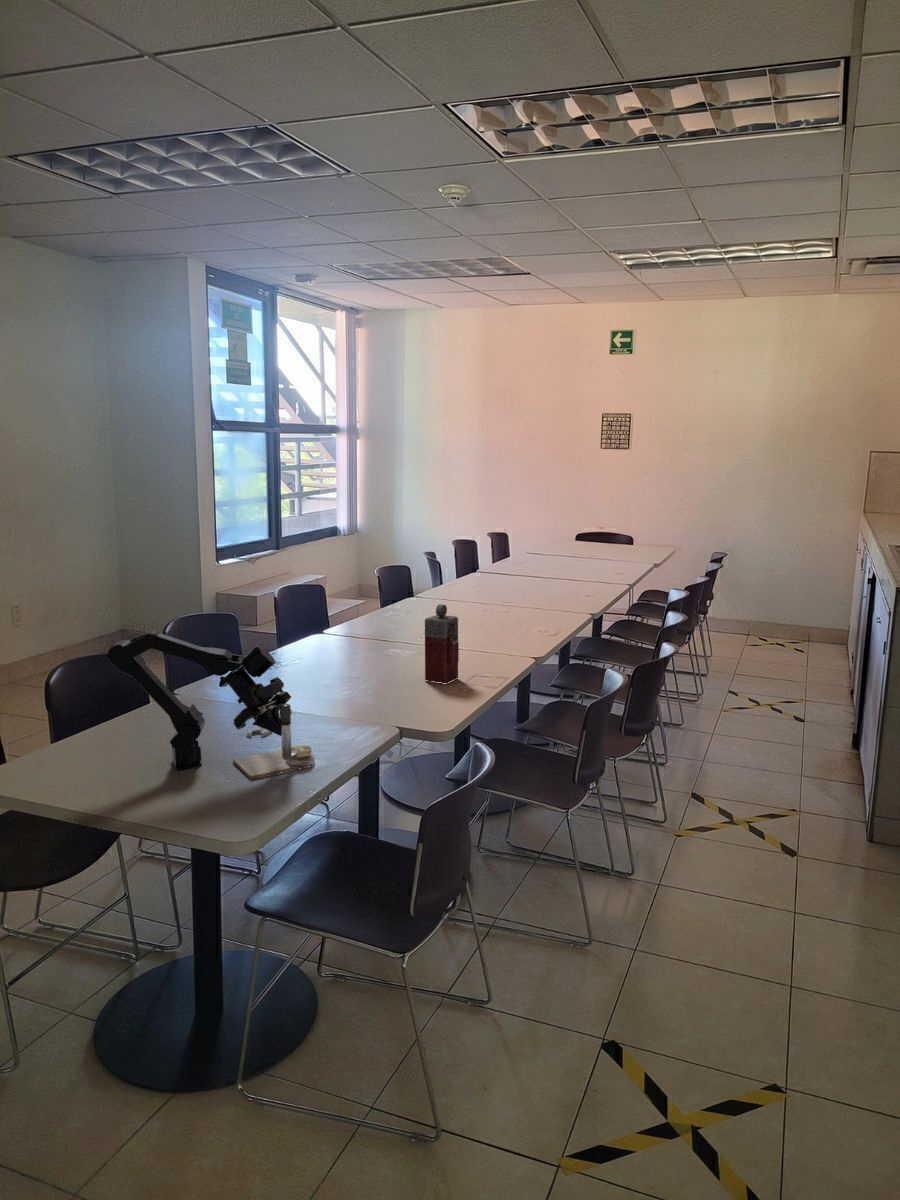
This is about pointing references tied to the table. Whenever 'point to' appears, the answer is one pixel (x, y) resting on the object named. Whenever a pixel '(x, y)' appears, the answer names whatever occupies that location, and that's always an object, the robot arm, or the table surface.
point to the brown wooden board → (270, 764)
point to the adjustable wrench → (259, 730)
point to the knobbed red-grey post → (441, 646)
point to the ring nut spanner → (287, 750)
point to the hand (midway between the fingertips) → (282, 734)
